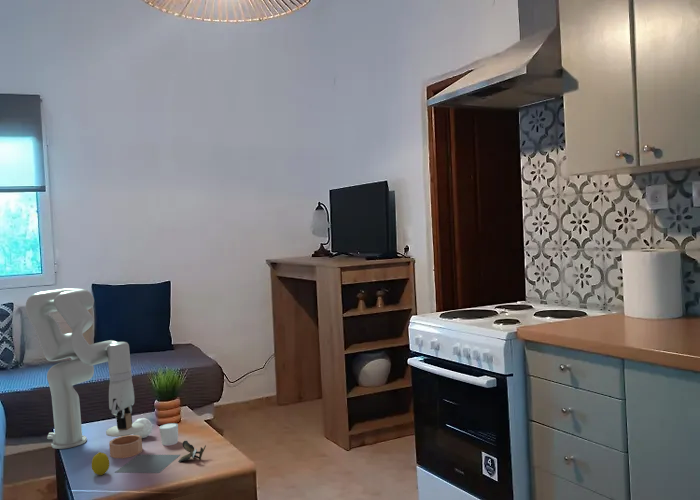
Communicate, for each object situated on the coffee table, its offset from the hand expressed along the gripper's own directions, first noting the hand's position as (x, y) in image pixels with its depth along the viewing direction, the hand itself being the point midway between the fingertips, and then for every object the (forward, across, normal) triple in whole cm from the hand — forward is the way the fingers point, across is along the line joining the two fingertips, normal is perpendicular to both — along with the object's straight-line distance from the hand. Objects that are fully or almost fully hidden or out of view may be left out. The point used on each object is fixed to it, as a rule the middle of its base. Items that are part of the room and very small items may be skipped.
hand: (124, 426), depth 231 cm
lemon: (+10, +20, +2) cm, 22 cm away
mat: (+10, +10, +14) cm, 20 cm away
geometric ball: (+10, -17, -3) cm, 20 cm away
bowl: (+10, 0, 0) cm, 10 cm away
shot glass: (+10, -10, +12) cm, 19 cm away
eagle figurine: (+11, +6, +27) cm, 30 cm away
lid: (+2, 0, 0) cm, 2 cm away
